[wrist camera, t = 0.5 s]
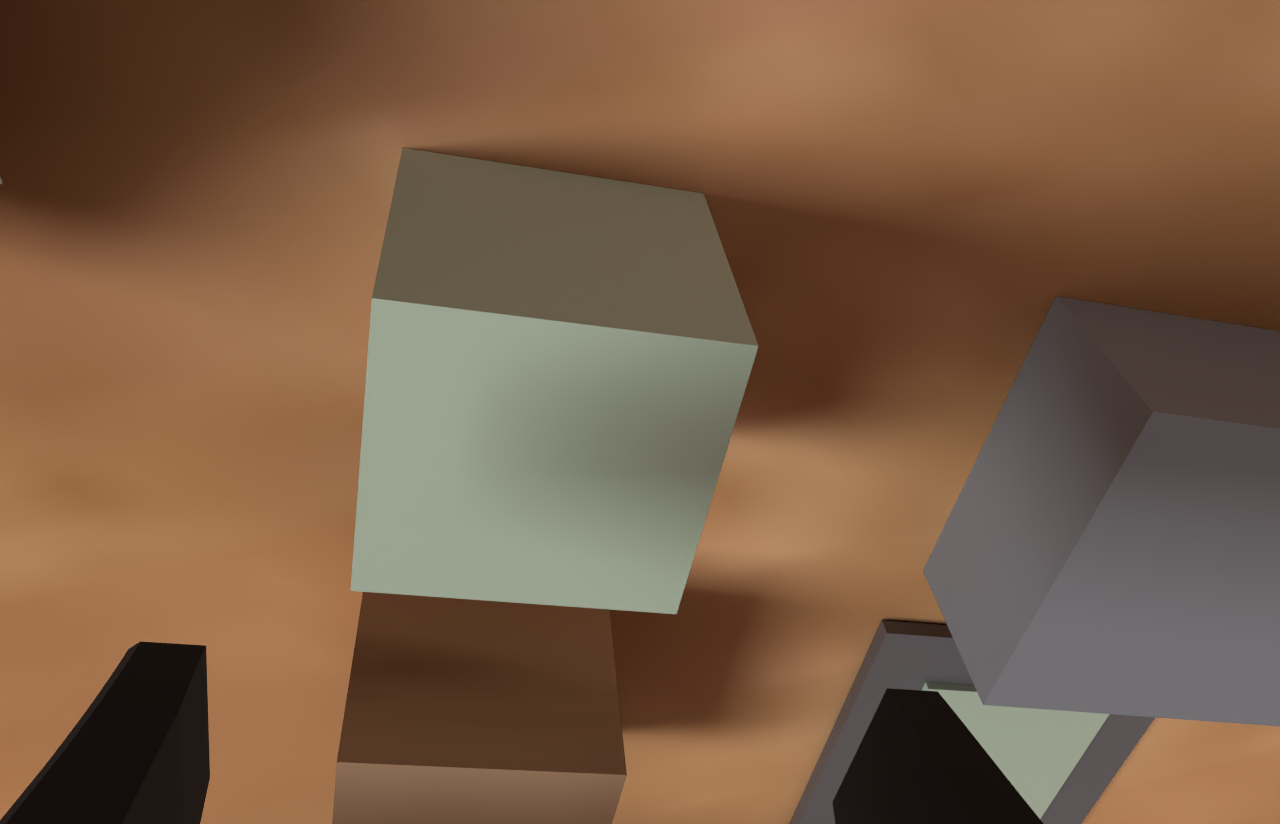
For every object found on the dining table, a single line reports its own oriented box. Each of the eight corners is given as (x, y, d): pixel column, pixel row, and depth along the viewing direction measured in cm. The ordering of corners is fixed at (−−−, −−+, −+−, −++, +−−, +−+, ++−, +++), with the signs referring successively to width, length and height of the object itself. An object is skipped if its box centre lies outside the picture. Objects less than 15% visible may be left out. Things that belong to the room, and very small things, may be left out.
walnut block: (568, 729, 26) (579, 929, 22) (355, 718, 25) (325, 925, 21) (606, 578, 23) (626, 775, 19) (367, 559, 22) (337, 762, 18)
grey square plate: (1054, 840, 31) (1063, 859, 30) (786, 831, 29) (791, 851, 29) (1189, 643, 26) (1202, 662, 26) (882, 620, 25) (889, 639, 24)
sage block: (643, 427, 21) (676, 614, 17) (381, 400, 20) (350, 590, 16) (702, 191, 18) (758, 346, 14) (403, 145, 17) (372, 297, 13)
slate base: (1192, 590, 26) (1290, 727, 22) (919, 563, 24) (983, 704, 21) (1362, 339, 22) (1511, 460, 19) (1050, 289, 20) (1152, 412, 17)
